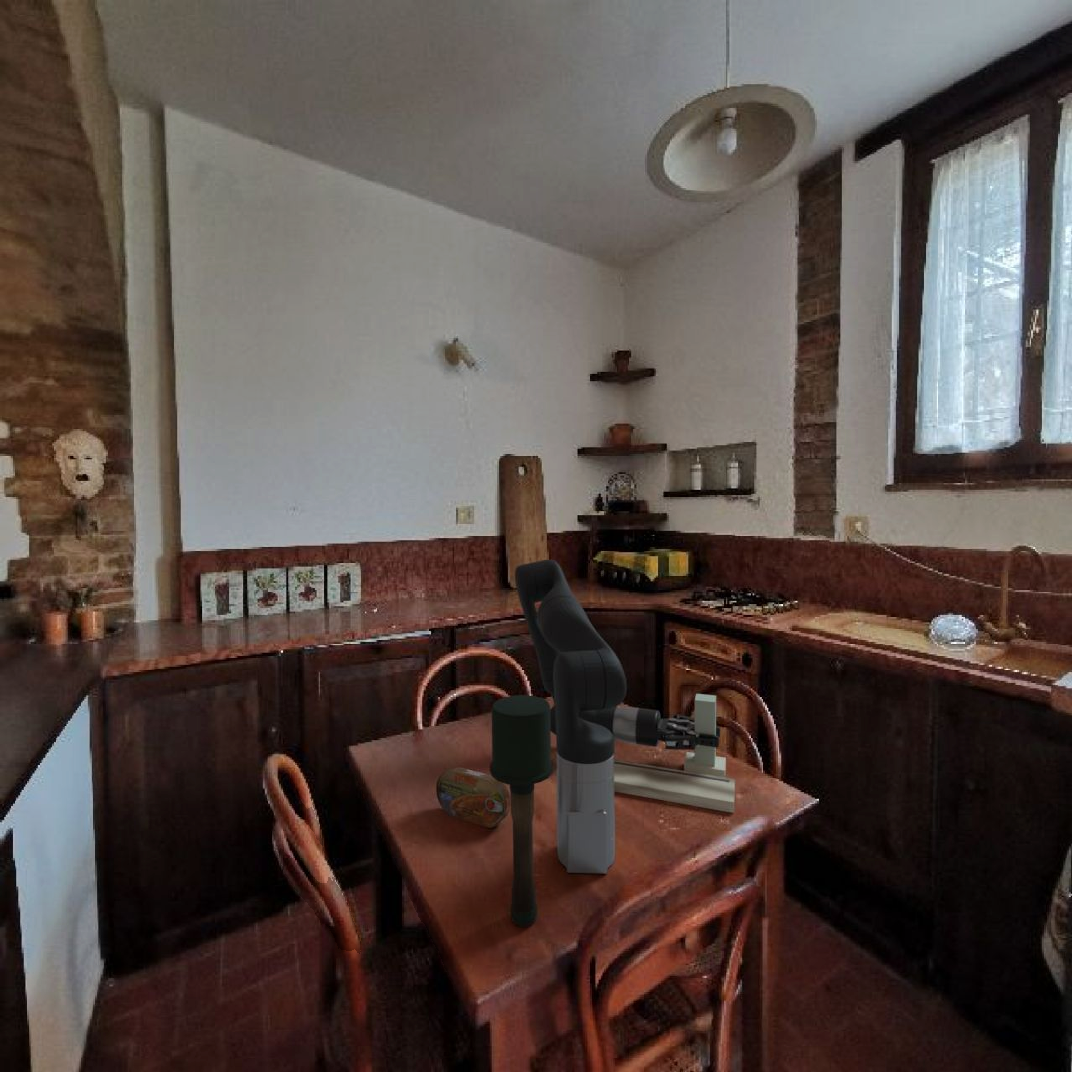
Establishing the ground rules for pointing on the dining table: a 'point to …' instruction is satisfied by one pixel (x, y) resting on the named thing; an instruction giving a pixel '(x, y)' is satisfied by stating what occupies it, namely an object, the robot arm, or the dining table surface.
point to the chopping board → (675, 785)
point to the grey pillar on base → (705, 755)
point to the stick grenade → (522, 784)
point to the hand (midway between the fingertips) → (719, 736)
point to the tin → (473, 796)
